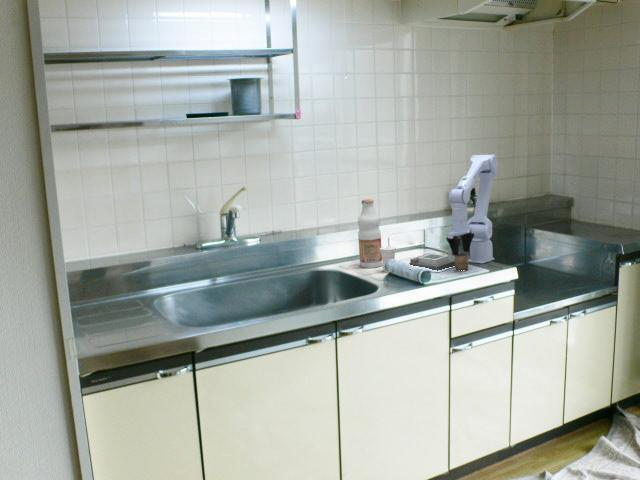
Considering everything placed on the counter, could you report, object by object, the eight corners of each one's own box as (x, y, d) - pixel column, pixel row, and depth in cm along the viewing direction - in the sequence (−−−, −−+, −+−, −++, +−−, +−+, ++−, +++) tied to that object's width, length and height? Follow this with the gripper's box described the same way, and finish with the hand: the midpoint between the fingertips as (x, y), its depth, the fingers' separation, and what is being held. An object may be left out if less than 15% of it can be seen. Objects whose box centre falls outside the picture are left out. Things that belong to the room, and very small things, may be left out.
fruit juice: (355, 266, 291) (351, 201, 286) (372, 262, 296) (368, 198, 291) (369, 269, 283) (365, 202, 278) (387, 265, 288) (383, 199, 283)
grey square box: (430, 262, 288) (429, 251, 288) (458, 265, 278) (457, 254, 278) (409, 269, 279) (408, 258, 278) (437, 273, 269) (437, 261, 268)
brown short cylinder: (459, 267, 275) (459, 252, 274) (470, 269, 271) (470, 253, 270) (452, 270, 272) (452, 255, 270) (463, 271, 268) (462, 256, 267)
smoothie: (391, 273, 273) (389, 239, 271) (378, 272, 277) (376, 238, 274) (399, 270, 278) (398, 236, 276) (386, 268, 282) (384, 235, 279)
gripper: (457, 222, 260) (459, 257, 262) (479, 217, 270) (479, 250, 272) (442, 221, 265) (443, 256, 267) (463, 216, 275) (464, 249, 277)
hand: (461, 253), depth 270 cm, fingers open, 7 cm apart
